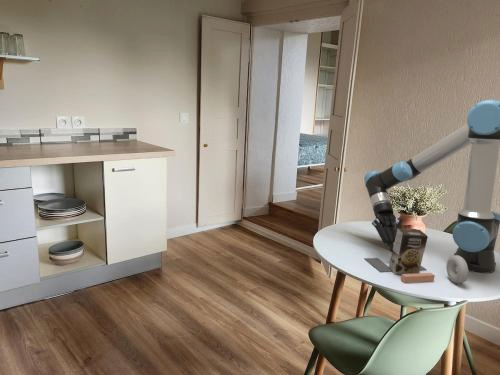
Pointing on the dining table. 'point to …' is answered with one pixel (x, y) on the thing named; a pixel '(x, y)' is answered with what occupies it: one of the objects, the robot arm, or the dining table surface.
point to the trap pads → (382, 265)
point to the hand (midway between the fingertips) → (398, 259)
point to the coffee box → (408, 251)
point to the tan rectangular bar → (417, 277)
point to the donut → (457, 269)
